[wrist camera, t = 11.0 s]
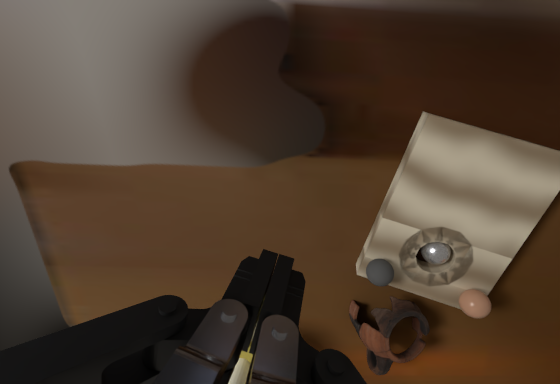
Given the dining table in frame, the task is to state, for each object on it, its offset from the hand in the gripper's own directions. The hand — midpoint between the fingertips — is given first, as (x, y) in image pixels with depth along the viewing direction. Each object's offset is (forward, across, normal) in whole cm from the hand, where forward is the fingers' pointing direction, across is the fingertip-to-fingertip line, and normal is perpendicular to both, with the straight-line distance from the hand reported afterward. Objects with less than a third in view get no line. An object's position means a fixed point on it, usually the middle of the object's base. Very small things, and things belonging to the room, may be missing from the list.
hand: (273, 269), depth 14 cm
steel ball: (+24, -18, +8) cm, 32 cm away
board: (+26, -18, +4) cm, 32 cm away
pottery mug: (+26, -17, +22) cm, 38 cm away
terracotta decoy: (+22, -24, +13) cm, 35 cm away
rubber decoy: (+22, -12, +12) cm, 28 cm away
